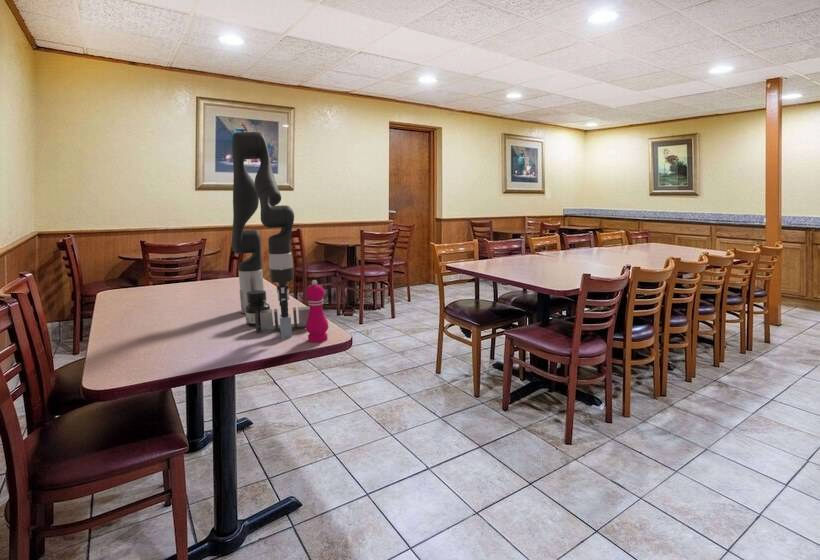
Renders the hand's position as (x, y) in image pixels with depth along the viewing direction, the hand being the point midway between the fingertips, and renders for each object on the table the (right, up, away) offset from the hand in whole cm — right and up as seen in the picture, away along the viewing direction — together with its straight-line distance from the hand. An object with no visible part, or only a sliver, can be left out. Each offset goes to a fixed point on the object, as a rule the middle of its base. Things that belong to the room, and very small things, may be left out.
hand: (284, 314), depth 165 cm
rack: (-2, -6, +10) cm, 12 cm away
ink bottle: (-14, -5, +18) cm, 24 cm away
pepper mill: (+12, -8, -4) cm, 15 cm away
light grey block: (0, -7, +2) cm, 8 cm away
